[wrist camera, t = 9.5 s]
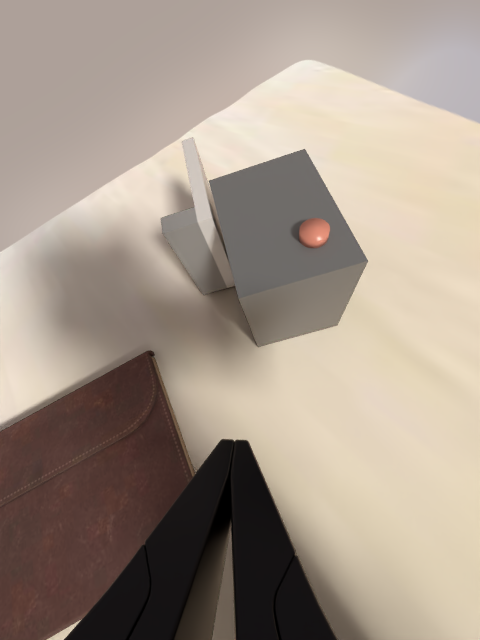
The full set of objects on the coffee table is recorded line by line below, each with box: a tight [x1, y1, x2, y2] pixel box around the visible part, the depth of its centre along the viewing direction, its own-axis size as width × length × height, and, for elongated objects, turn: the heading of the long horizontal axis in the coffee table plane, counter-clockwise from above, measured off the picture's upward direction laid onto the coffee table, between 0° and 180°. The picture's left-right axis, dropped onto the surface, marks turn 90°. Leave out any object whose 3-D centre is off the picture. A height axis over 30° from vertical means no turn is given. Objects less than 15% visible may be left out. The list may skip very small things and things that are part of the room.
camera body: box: [209, 149, 368, 347], centre depth 19 cm, size 11×7×10 cm, turn 13°
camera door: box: [161, 137, 235, 295], centre depth 22 cm, size 10×4×8 cm, turn 13°
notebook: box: [0, 351, 195, 640], centre depth 19 cm, size 15×20×2 cm
